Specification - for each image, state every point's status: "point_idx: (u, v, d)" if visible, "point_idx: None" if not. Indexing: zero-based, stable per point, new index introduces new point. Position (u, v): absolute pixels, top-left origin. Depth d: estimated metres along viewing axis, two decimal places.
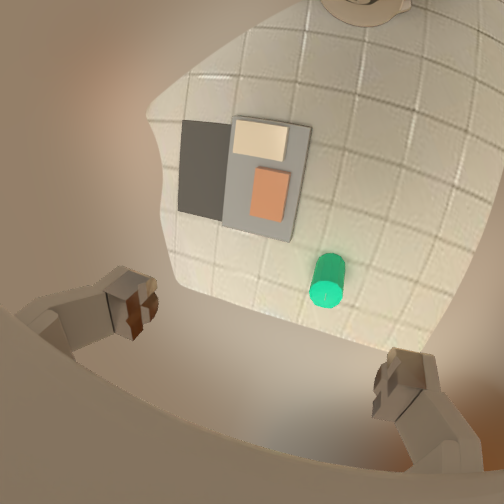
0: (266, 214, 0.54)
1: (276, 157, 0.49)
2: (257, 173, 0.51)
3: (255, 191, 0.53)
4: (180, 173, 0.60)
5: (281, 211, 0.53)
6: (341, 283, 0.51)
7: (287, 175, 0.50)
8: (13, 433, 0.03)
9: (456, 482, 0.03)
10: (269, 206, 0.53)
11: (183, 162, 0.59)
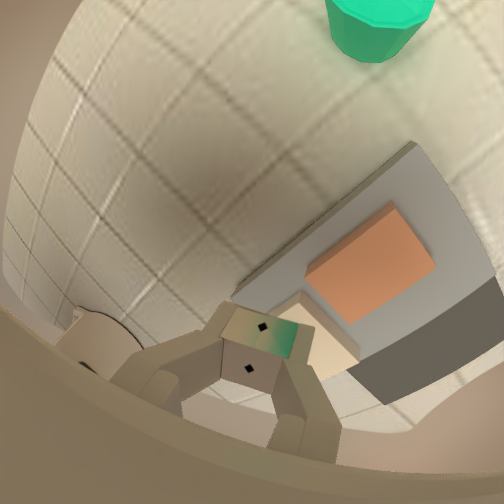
0: (406, 245, 0.20)
1: (302, 314, 0.25)
2: (354, 316, 0.24)
3: (385, 295, 0.22)
4: (458, 366, 0.28)
5: (374, 228, 0.20)
6: None
7: (308, 278, 0.24)
8: (13, 433, 0.03)
9: (456, 482, 0.03)
10: (389, 254, 0.21)
11: (440, 374, 0.29)
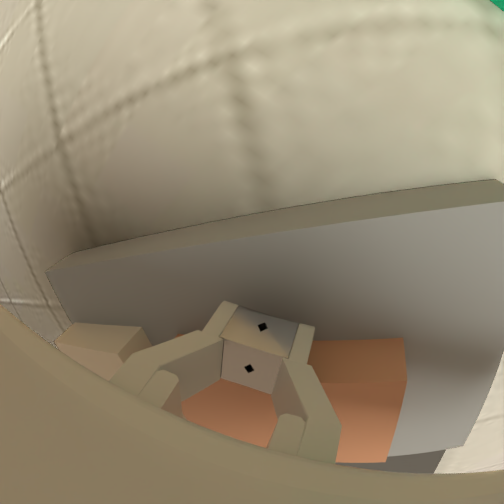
0: (369, 429, 0.09)
1: None
2: None
3: None
4: None
5: (339, 387, 0.08)
6: None
7: None
8: (13, 433, 0.03)
9: (456, 482, 0.03)
10: None
11: None
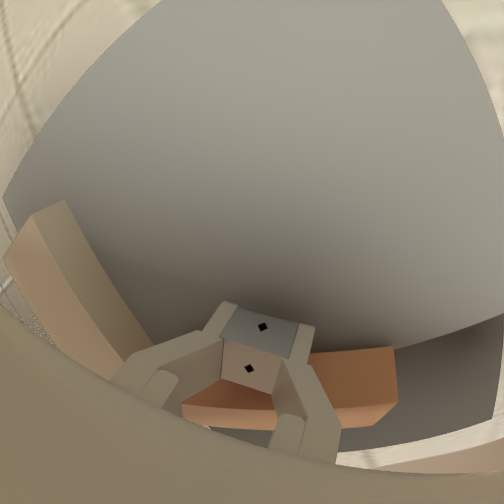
0: (359, 418, 0.10)
1: (38, 242, 0.10)
2: (212, 425, 0.14)
3: None
4: (371, 446, 0.16)
5: None
6: None
7: None
8: (13, 433, 0.03)
9: (456, 482, 0.03)
10: None
11: None
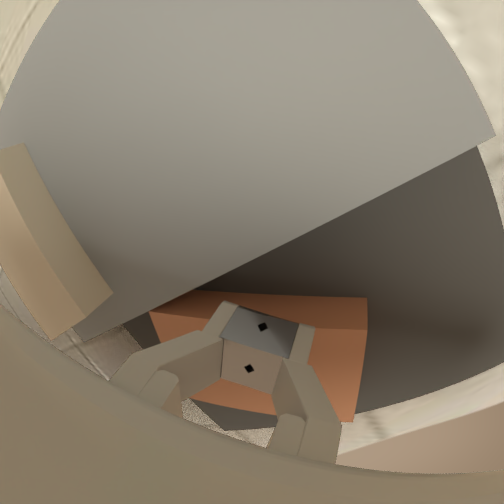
0: (336, 381, 0.11)
1: None
2: (197, 395, 0.14)
3: (255, 405, 0.13)
4: (373, 406, 0.14)
5: None
6: None
7: (153, 316, 0.13)
8: (13, 433, 0.03)
9: (456, 482, 0.03)
10: None
11: None
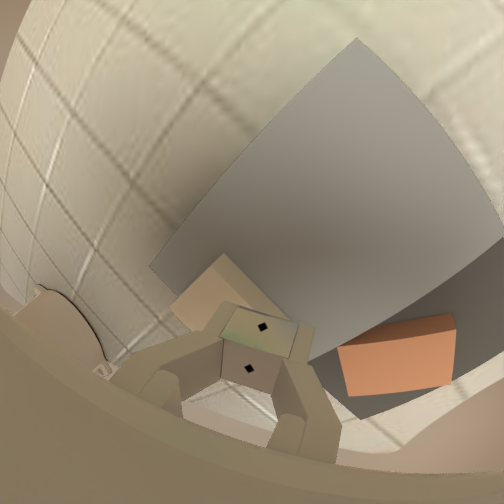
0: (442, 360, 0.18)
1: (217, 282, 0.19)
2: (358, 392, 0.22)
3: (396, 388, 0.20)
4: (458, 375, 0.20)
5: (428, 337, 0.18)
6: None
7: (339, 348, 0.21)
8: (13, 433, 0.03)
9: (456, 482, 0.03)
10: (424, 360, 0.18)
11: None
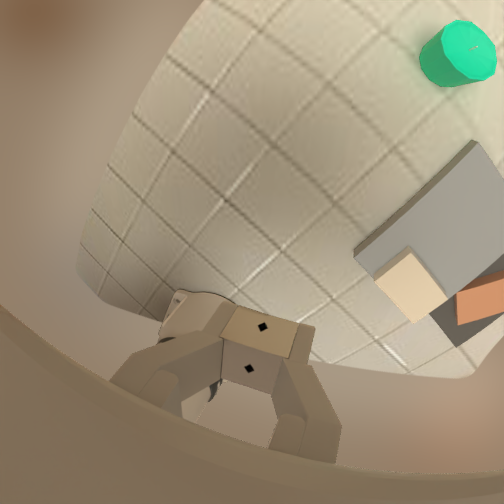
0: (503, 295, 0.31)
1: (412, 261, 0.32)
2: (463, 321, 0.35)
3: (481, 315, 0.33)
4: None
5: (497, 281, 0.30)
6: (437, 45, 0.18)
7: (457, 293, 0.33)
8: (13, 433, 0.03)
9: (456, 482, 0.03)
10: (495, 296, 0.31)
11: (496, 314, 0.34)
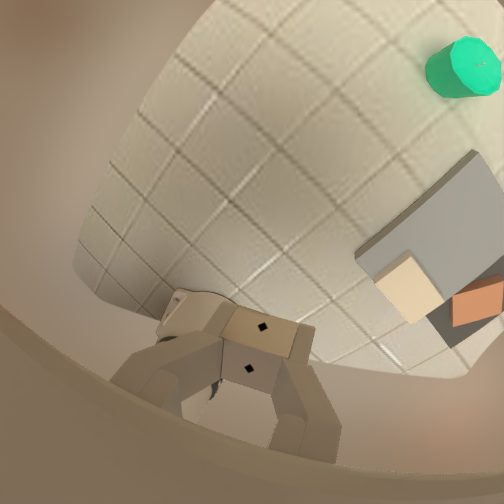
0: (497, 298, 0.33)
1: (412, 265, 0.33)
2: (458, 323, 0.36)
3: (476, 317, 0.35)
4: (502, 310, 0.35)
5: (492, 285, 0.32)
6: (445, 60, 0.19)
7: (453, 296, 0.35)
8: (13, 433, 0.03)
9: (456, 482, 0.03)
10: (489, 299, 0.33)
11: (489, 317, 0.36)
